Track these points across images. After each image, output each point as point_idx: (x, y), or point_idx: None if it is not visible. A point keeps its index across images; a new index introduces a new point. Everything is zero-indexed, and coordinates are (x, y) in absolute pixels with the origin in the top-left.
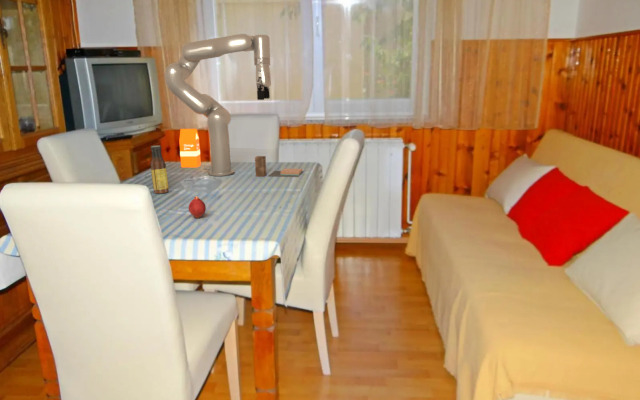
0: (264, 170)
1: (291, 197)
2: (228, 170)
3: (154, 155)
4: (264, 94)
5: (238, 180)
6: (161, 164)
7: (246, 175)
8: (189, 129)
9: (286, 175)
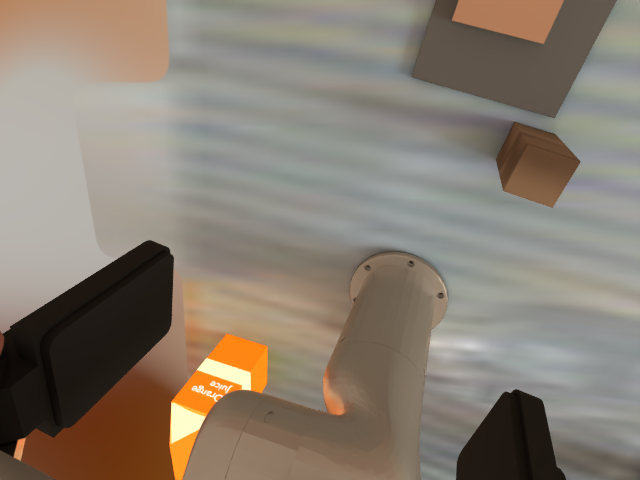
0: (547, 137)
1: None
2: (420, 280)
3: None
4: (126, 353)
5: (558, 245)
6: None
7: (454, 208)
8: (174, 462)
9: (572, 6)
